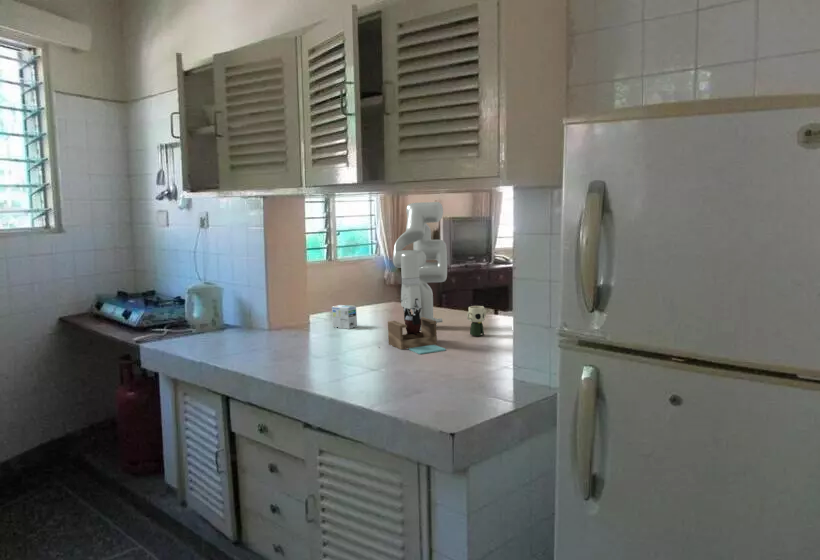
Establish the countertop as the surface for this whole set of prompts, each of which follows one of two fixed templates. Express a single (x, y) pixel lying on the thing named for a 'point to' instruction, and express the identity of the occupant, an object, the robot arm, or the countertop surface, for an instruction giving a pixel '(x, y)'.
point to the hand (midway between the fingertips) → (412, 322)
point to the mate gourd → (411, 325)
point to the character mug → (476, 319)
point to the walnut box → (412, 335)
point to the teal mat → (427, 349)
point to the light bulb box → (344, 316)
